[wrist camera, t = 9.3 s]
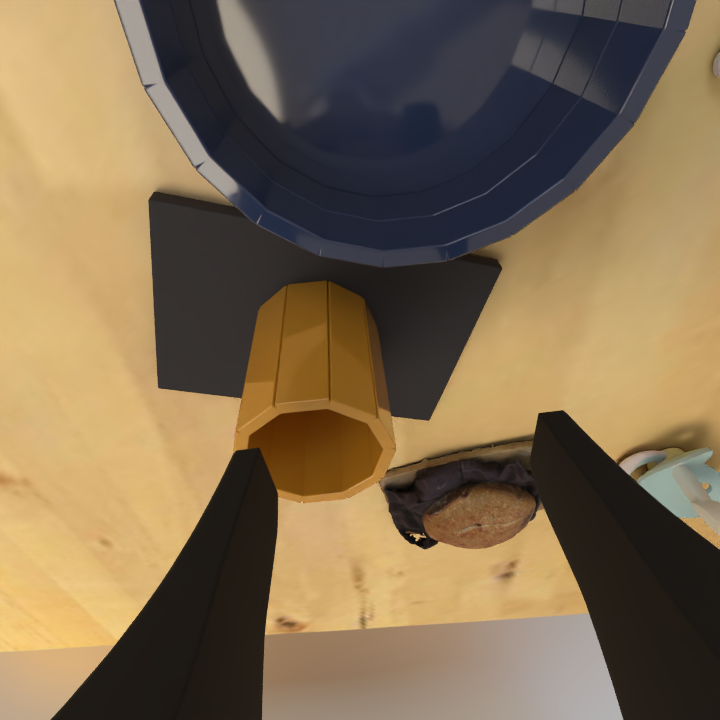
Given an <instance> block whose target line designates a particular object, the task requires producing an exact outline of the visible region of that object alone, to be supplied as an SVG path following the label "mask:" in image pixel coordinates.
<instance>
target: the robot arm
mask: <svg viewBox="0 0 720 720" xmlns="http://www.w3.org/2000/svg"><path fill="white" fill-rule="evenodd" d="M713 73H714V75H715V76H717V77H718V78H720V51H719V53H718V55H717V56H716V58H715V61H714V63H713ZM529 464H530V468H531V471H532V474H533V478H534V481H535V484H536V487H537V490H538V493H539V497H540V500H541V502H542V504H543V507H544V509H545V511H546V514H547V516H548V518H549V520H550V523H551V525H552V527H553V529H554V532H555V534H556V536H557V538H558V540H559V543H560V545H561V547H562V549H563V551H564V554H565V556H566V558H567V560H568V563H569V565H570V567H571V569H572V571H573V574H574V576H575V578H576V580H577V583H578V585H579V587H580V590H581V592H582V595H583V597H584V600H585V602H586V605H587V608H588V611H589V614H590V617H591V619H592V623H593V626H594V628H595V631H596V634H597V637H598V640H599V643H600V646H601V649H602V652H603V655H604V658H605V662H606V664H607V668H608V671H609V674H610V677H611V680H612V683H613V686H614V690H615V693H616V696H617V700H618V703H619V706H620V710H621V713H622V716H623V719H624V720H720V549H718V548H717V547H715V546H714V545H713V544H712V543H710V542H709V541H708V540H706V539H705V538H704V537H702V536H701V535H700V534H698V533H697V532H696V531H694V530H693V529H692V528H691V527H689V526H688V525H687V524H686V523H684V522H683V521H682V520H681V519H679V518H678V517H677V516H676V515H674V514H673V513H672V512H671V511H670V510H668V509H667V508H666V507H665V506H664V505H663V504H661V503H660V502H659V501H658V500H657V499H655V498H654V497H653V496H652V495H651V494H650V493H649V492H647V491H646V490H645V489H644V488H643V487H642V486H641V485H639V484H638V483H637V482H636V481H635V480H634V479H633V478H632V477H631V476H630V475H629V474H628V473H627V472H625V471H624V470H623V469H622V468H621V467H620V466H619V465H618V464H617V463H616V462H615V461H614V460H613V459H612V458H611V457H610V456H608V455H607V454H606V453H605V452H604V451H603V450H602V449H601V448H600V447H599V446H598V445H597V444H596V443H595V442H594V441H593V440H592V439H591V438H590V437H589V436H588V435H587V434H586V433H585V432H584V431H583V430H582V429H581V428H580V427H579V426H578V424H577V423H576V422H575V421H574V420H573V419H572V418H571V417H570V416H569V415H568V414H567V413H566V412H564V411H563V410H562V411H553V412H545V413H539V414H538V420H537V425H536V430H535V435H534V440H533V445H532V450H531V455H530V460H529ZM277 527H278V492H277V489H276V487H275V484H274V482H273V479H272V477H271V474H270V472H269V470H268V467H267V465H266V462H265V460H264V457H263V455H262V452H261V450H260V448H252V449H243V450H236V452H235V453H234V454H233V456H232V458H231V460H230V462H229V464H228V466H227V468H226V471H225V473H224V475H223V477H222V479H221V481H220V483H219V485H218V487H217V489H216V491H215V492H214V494H213V496H212V498H211V500H210V502H209V504H208V506H207V508H206V509H205V511H204V513H203V515H202V517H201V518H200V520H199V522H198V524H197V526H196V527H195V529H194V531H193V533H192V534H191V536H190V538H189V539H188V541H187V543H186V544H185V546H184V548H183V549H182V551H181V552H180V554H179V556H178V557H177V559H176V561H175V562H174V564H173V565H172V567H171V569H170V570H169V572H168V573H167V575H166V576H165V578H164V579H163V581H162V582H161V584H160V585H159V587H158V588H157V589H156V591H155V592H154V594H153V595H152V597H151V598H150V599H149V601H148V602H147V604H146V605H145V606H144V608H143V609H142V611H141V612H140V613H139V615H138V616H137V617H136V619H135V620H134V621H133V622H132V624H131V625H130V626H129V628H128V629H127V630H126V632H125V633H124V634H123V636H122V637H121V638H120V640H119V641H118V642H117V643H116V645H115V646H114V647H113V648H112V650H111V651H110V652H109V653H108V655H107V656H106V657H105V658H104V659H103V661H102V662H101V663H100V664H99V665H98V667H97V668H96V669H95V670H94V671H93V672H92V674H91V675H90V676H89V677H88V678H87V679H86V680H85V681H84V683H83V684H82V685H81V686H80V687H79V688H78V690H77V691H76V692H75V693H74V694H73V696H72V697H71V698H70V699H69V700H68V701H67V702H66V704H65V705H64V706H63V707H62V708H61V709H60V710H59V711H58V712H57V713H56V715H55V716H54V717H53V718H52V719H51V720H262V691H263V661H264V637H265V626H266V616H267V608H268V601H269V593H270V585H271V578H272V570H273V563H274V555H275V547H276V539H277Z"/></svg>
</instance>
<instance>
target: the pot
mask: <svg viewBox="0 0 720 720" xmlns="http://www.w3.org/2000/svg"><path fill="white" fill-rule="evenodd" d="M114 3H115V6H116V9H117V12H118V15H119V18H120V21H121V24H122V27H123V29H124V32H125V35H126V38H127V41H128V44H129V47H130V50H131V53H132V56H133V59H134V62H135V65H136V68H137V71H138V74H139V77H140V80H141V83H142V85H143V86H144V87H145V88H144V89H145V91H146V93H147V94H148V96H149V98H150V99H151V101H152V102H153V104H154V105H155V107H156V109H157V110H158V112H159V113H160V115H161V116H162V118H163V120H164V121H165V123H166V124H167V126H168V127H169V129H170V131H171V132H172V134H173V135H174V137H175V138H176V140H177V142H178V143H179V145H180V146H181V148H182V149H183V151H184V153H185V154H186V156H187V157H188V159H189V160H190V162H191V164H192V165H193V167H195V168H196V170H197V172H199V173H200V174H201V175H202V176H203V177H204V178H205V179H206V180H207V181H208V182H209V183H210V184H212V185H213V186H214V187H215V188H216V189H217V190H218V191H219V192H220V193H221V194H222V195H223V196H225V197H226V198H227V199H228V200H229V201H230V202H231V203H232V204H233V205H234V206H235V207H236V208H238V209H239V210H240V211H241V212H242V213H243V214H244V215H245V216H246V217H247V218H248V219H249V220H251V221H252V222H253V223H255V224H256V225H258V226H260V227H261V228H263V229H265V230H267V231H269V232H271V233H273V234H275V235H277V236H279V237H281V238H283V239H285V240H287V241H289V242H291V243H293V244H295V245H297V246H299V247H301V248H303V249H305V250H307V251H309V252H311V253H313V254H315V255H318V256H320V257H326V258H331V259H336V260H342V261H347V262H353V263H358V264H363V265H369V266H374V267H380V268H381V267H382V266H383V268H388V267H397V266H407V265H417V264H427V263H436V262H446V261H447V260H448V261H450V260H452V259H455V258H458V257H460V256H463V255H465V254H468V253H470V252H473V251H475V250H478V249H481V248H483V247H486V246H488V245H491V244H493V243H496V242H499V241H501V240H504V239H506V238H509V237H511V235H515V234H516V233H517V232H519V231H520V230H522V229H523V228H524V227H526V226H527V225H529V224H530V223H531V222H533V221H534V220H536V219H537V218H538V217H540V216H541V215H543V214H544V213H545V212H547V211H548V210H550V209H551V208H552V207H554V206H555V205H557V204H558V203H559V202H561V201H562V200H564V199H565V198H566V197H568V196H569V195H571V194H572V193H573V192H574V190H577V189H578V188H579V187H580V186H581V185H582V184H583V182H584V181H585V180H586V179H587V178H588V177H589V176H590V174H591V173H592V172H593V171H594V170H595V169H596V168H597V167H598V165H599V164H600V163H601V162H602V161H603V160H604V159H605V157H606V156H607V155H608V154H609V153H610V152H611V151H612V150H613V148H614V147H615V146H616V145H617V144H618V143H619V142H620V140H621V139H622V138H623V137H624V136H625V135H626V134H627V133H628V131H629V130H630V129H631V128H632V127H633V126H634V123H635V122H636V121H637V119H638V118H639V116H640V114H641V112H642V110H643V109H644V107H645V105H646V103H647V102H648V100H649V98H650V96H651V94H652V93H653V91H654V89H655V87H656V85H657V84H658V82H659V80H660V78H661V76H662V75H663V73H664V71H665V69H666V68H667V66H668V64H669V62H670V60H671V59H672V57H673V55H674V53H675V51H676V50H677V48H678V46H679V44H680V42H681V41H682V39H683V37H684V35H685V33H686V32H685V30H687V28H688V26H689V22H690V19H691V16H692V13H693V9H694V6H695V3H696V0H114Z"/></svg>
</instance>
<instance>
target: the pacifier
mask: <svg viewBox="0 0 720 720" xmlns="http://www.w3.org/2000/svg"><path fill="white" fill-rule="evenodd" d="M712 454H713V451H712V450H711V449H710V448H709V447H705V448H700V449H696V450H692V451H688V452H684V451H683V450H681V449H679V448H668V449H664V450H662V451H655V450H651V451H642V452H639V453H636V454H633V455H631V456H629V457H628V458H626V459H624V460H623V461H622V462H621V463H620V464H619V466H620V467H621V468H622V469H623V470H624V471H625V472H627V473H628V474H629V475H630V474H631V473H632V472H633V471H634V470H635V469H636V468H637V467H639V466H641V465H643V464H647V468H648V471H647V472H646V473H645V474H644V475H642V476H641V477H640V478H639V479H638V480H637V483H638V484H639V485H641V486H642V487H643V488H644V489H645V490H646V491H647V492H649V493H650V494H651V495H652V496H653V497H654V498H655V499H657V500H658V501H659V502H660V503H661V504H663V505H664V506H665V507H666V508H667V509H668V510H670V511H671V512H672V513H673V514H674V515H676V516H677V517H679V518H697V517H701V518H702V519H703V521H704V522H705V523H706V524H707V525H708V526H709V527H710V528H711V529H712V530H713V531H714V532H715V533H716V534H717V535H719V536H720V473H719V472H718V471H716V470H715V469H714V468H713V467H711V466H709V465H707V464H705V462H706V461H707V460H708V459H709V458H710V457H711V456H712ZM701 483H708V484H709V487H708V488H707V489H706V490H705V489H704V488H703V487H702V485H701Z"/></svg>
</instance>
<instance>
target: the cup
mask: <svg viewBox="0 0 720 720" xmlns="http://www.w3.org/2000/svg"><path fill="white" fill-rule="evenodd" d="M252 448H260V450H261V452H262V455H263V457H264V460H265V462H266V465H267V467H268V470H269V472H270V474H271V477H272V479H273V482H274V484H275V487H276V489H277V492H278V497H280V498H284V499H287V500H291V501H295V502H298V503H301V502H303V503H311V502H321V501H331V500H340V499H346V497H347V498H350V497H352V496H353V495H355V494H357V493H359V492H361V491H362V490H364V489H366V488H368V487H370V486H371V485H373V484H375V483H377V482H379V481H380V480H382V478H384V476H385V474H386V471H387V469H388V467H389V464H390V462H391V460H392V458H393V455H394V453H395V451H396V443H395V437H394V430H393V424H392V418H391V411H390V405H389V398H388V392H387V386H386V379H385V373H384V366H383V360H382V354H381V347H380V341H379V334H378V328H377V324H376V322H375V320H374V318H373V316H372V314H371V312H370V310H369V308H368V306H367V304H366V302H365V300H364V299H362V297H361V296H359V295H357V294H355V293H353V292H351V291H349V290H347V289H345V288H343V287H341V286H339V285H337V284H335V283H333V282H331V281H329V282H328V283H327V281H326V280H325V281H315V282H305V283H295V284H288V286H284V287H283V288H282V289H281V290H280V291H278V292H277V293H276V294H275V295H274V296H273V297H271V298H270V299H269V300H268V301H267V302H265V303H264V304H263V305H262V306H261V307H260V309H259V310H258V315H257V320H256V325H255V330H254V336H253V341H252V346H251V352H250V357H249V362H248V368H247V373H246V378H245V383H244V389H243V394H242V399H241V405H240V410H239V415H238V420H237V426H236V431H235V440H234V450H233V454H234V453H235V452H236V450H243V449H252Z"/></svg>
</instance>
